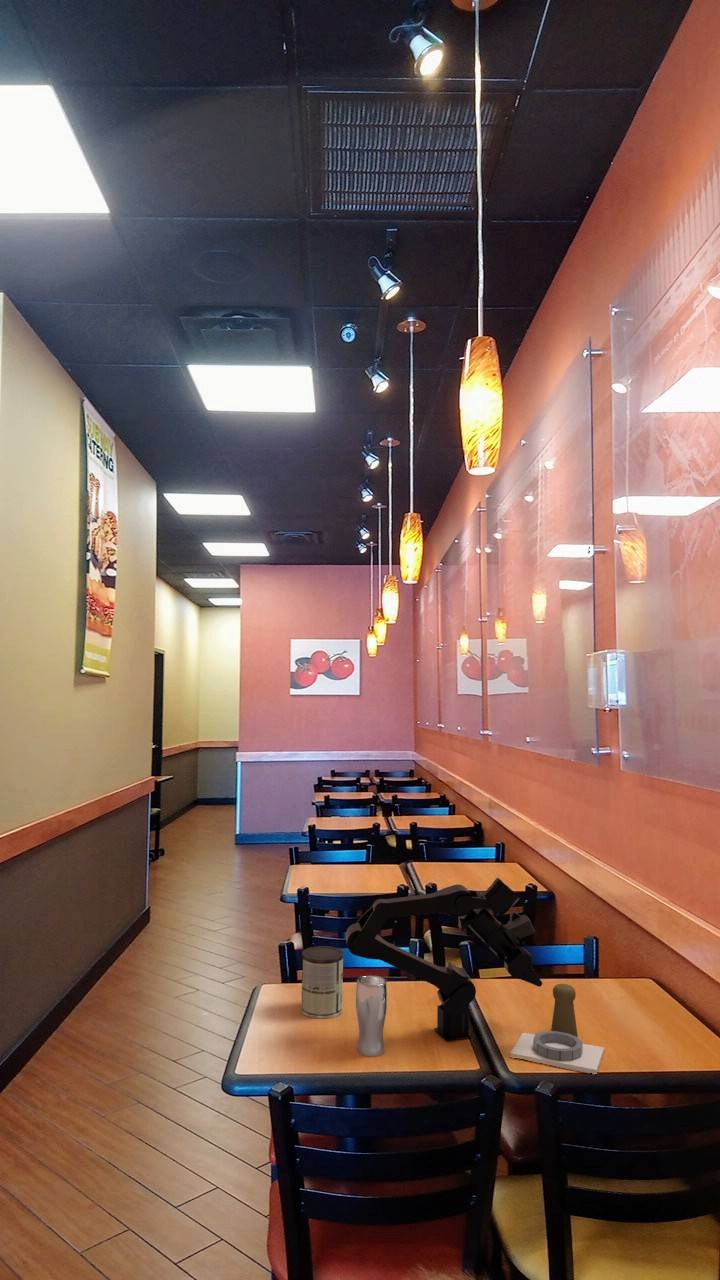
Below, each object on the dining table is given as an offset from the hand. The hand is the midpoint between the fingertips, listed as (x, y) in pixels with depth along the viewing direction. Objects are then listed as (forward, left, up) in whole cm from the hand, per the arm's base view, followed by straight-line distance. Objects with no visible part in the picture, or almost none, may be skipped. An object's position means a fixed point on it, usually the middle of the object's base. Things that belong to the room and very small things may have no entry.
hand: (535, 978), depth 188 cm
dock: (-2, -11, -13) cm, 17 cm away
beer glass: (-40, +4, -13) cm, 42 cm away
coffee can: (-43, +29, -13) cm, 53 cm away
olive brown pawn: (+6, -2, -13) cm, 14 cm away
